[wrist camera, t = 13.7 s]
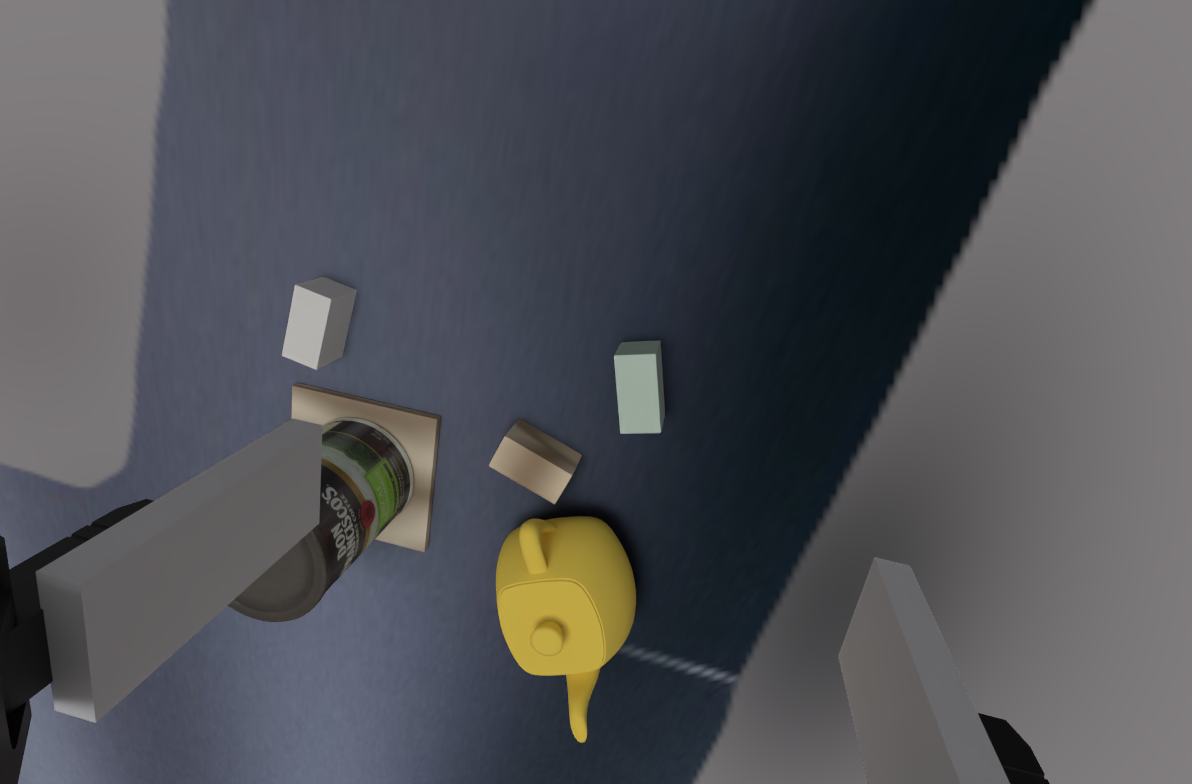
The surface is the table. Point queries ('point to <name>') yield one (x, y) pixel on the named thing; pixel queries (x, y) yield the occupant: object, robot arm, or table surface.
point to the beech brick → (535, 460)
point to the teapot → (565, 602)
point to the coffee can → (336, 519)
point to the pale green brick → (640, 387)
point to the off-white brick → (318, 322)
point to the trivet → (408, 429)
